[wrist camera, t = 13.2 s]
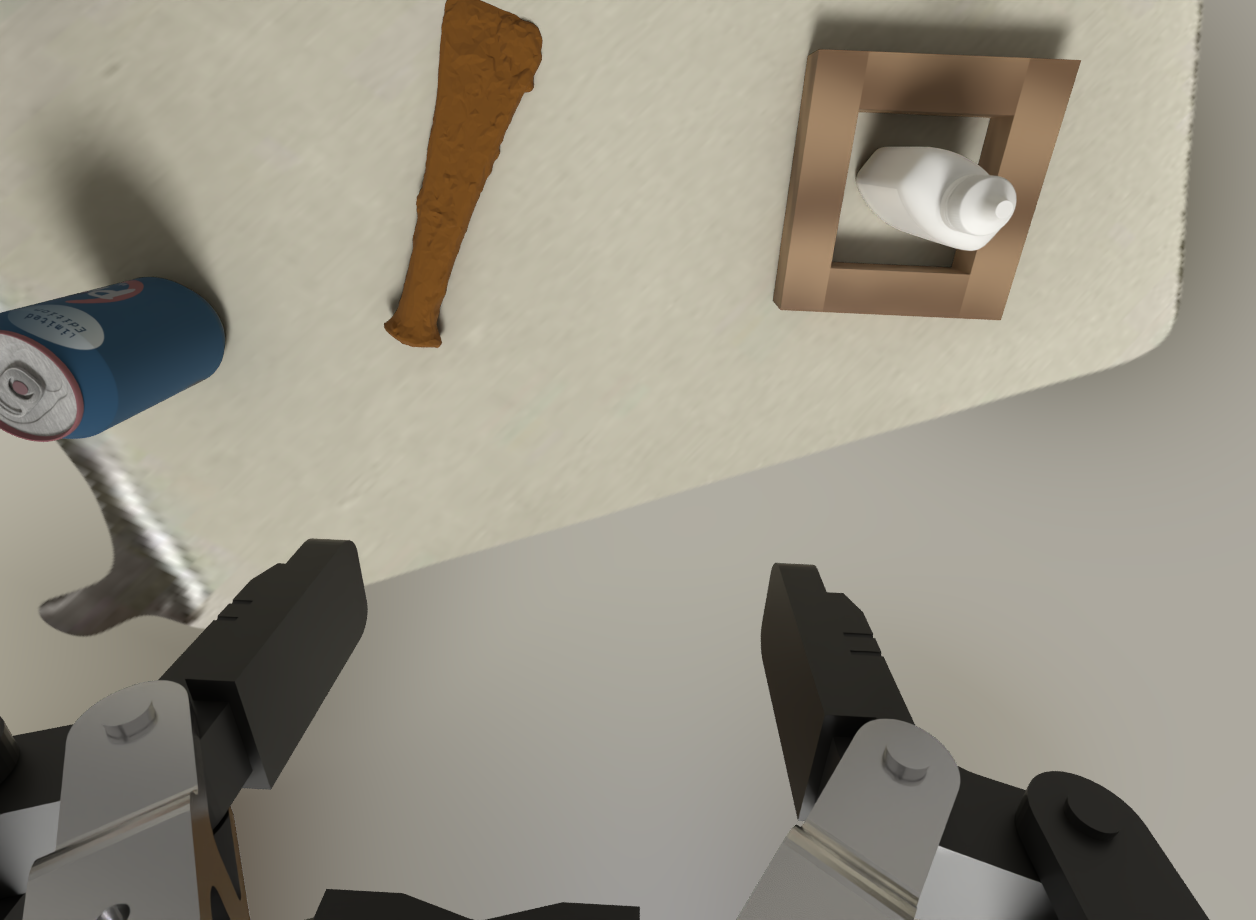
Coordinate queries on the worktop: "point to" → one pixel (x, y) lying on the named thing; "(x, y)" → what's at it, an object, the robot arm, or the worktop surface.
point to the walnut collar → (923, 85)
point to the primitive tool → (462, 148)
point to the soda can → (103, 356)
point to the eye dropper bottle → (936, 195)
